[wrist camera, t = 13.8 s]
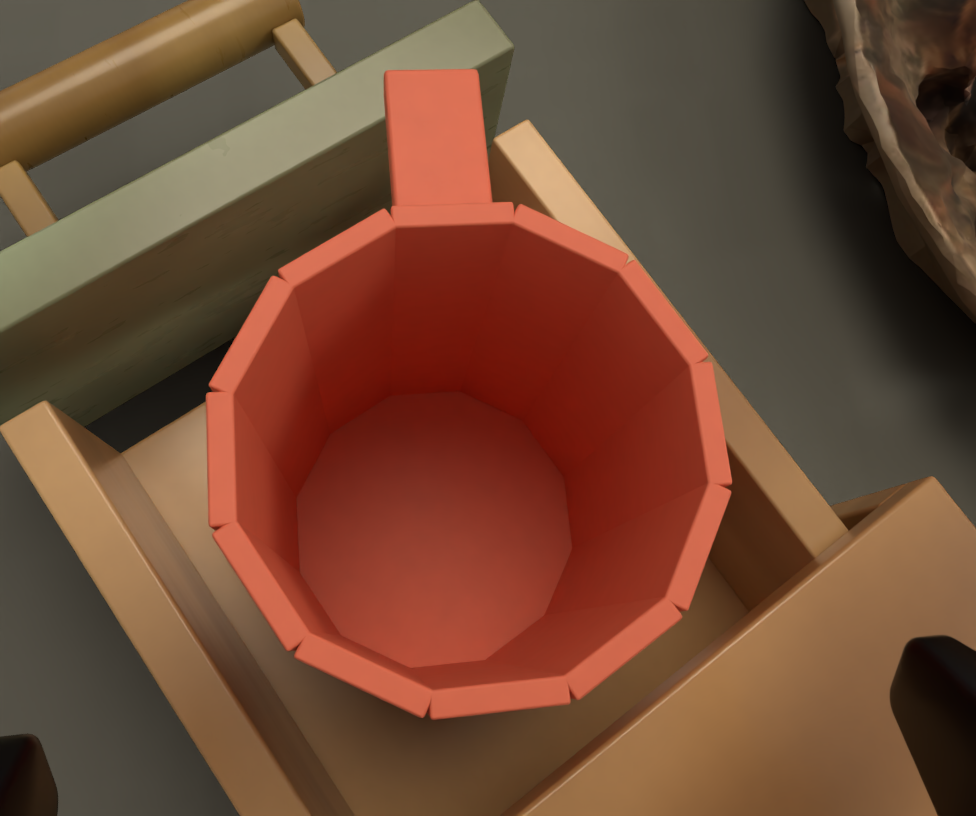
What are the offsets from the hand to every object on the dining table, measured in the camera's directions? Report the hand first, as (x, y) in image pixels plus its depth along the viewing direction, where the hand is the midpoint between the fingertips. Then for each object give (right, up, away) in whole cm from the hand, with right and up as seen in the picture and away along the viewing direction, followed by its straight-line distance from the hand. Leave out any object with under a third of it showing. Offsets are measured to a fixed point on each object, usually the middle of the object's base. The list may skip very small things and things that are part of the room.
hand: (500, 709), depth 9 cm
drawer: (-3, +2, +10) cm, 10 cm away
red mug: (-1, +2, +9) cm, 9 cm away
